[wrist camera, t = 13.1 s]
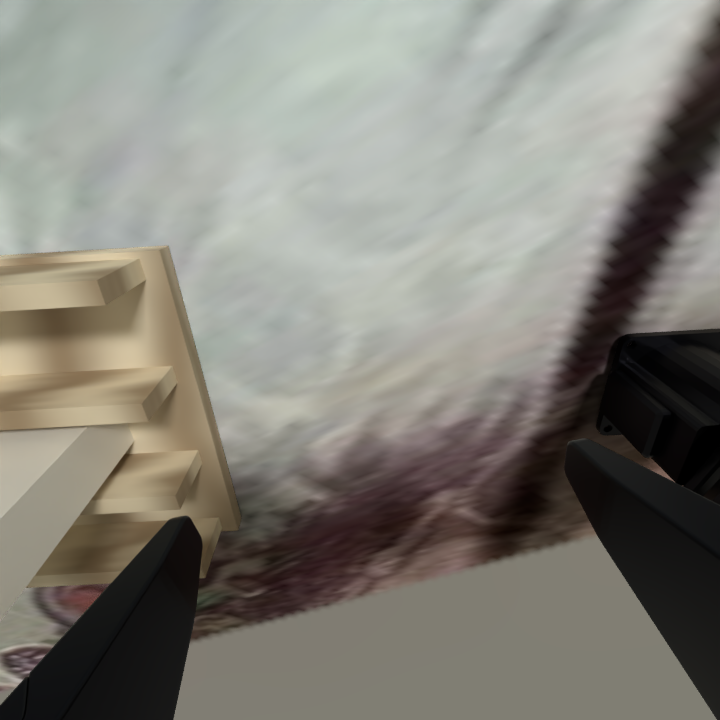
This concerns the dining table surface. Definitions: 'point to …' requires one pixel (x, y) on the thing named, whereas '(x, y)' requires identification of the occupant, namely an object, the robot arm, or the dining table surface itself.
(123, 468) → the ridged tan cradle
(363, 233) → the dining table surface
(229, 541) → the dining table surface
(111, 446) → the cream rectangular block
